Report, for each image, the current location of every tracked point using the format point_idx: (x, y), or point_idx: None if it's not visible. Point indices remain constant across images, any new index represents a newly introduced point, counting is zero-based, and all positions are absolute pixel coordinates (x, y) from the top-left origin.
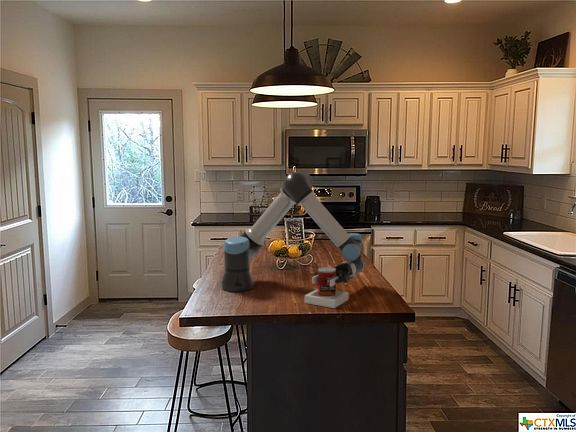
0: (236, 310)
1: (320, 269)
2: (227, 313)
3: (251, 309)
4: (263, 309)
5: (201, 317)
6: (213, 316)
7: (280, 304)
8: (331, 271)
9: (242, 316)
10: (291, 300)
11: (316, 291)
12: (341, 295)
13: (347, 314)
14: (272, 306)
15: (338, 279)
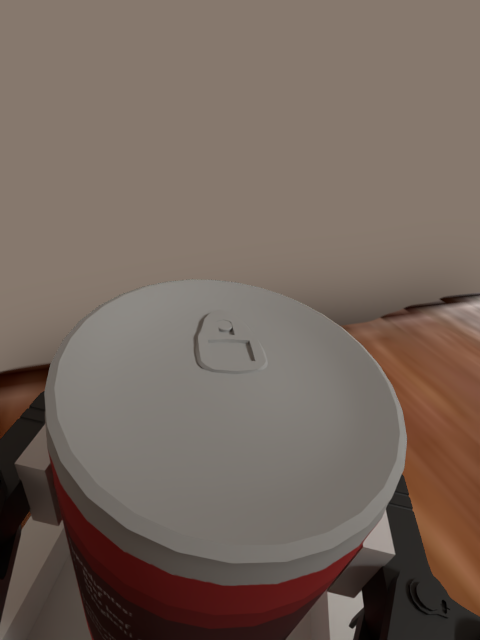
0: (472, 338)
1: (338, 364)
2: (463, 317)
3: (447, 352)
4: (415, 358)
5: (477, 294)
6: (464, 300)
7: (417, 425)
8: (135, 292)
9: (407, 306)
10: (433, 514)
11: (331, 633)
12: (18, 565)
13: (29, 368)
14: (420, 392)
15: (31, 415)
